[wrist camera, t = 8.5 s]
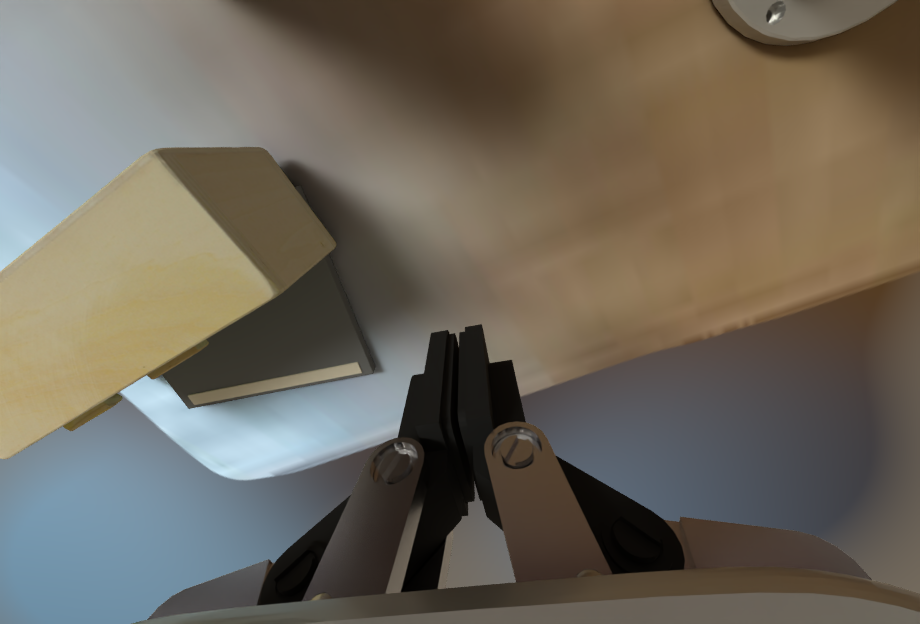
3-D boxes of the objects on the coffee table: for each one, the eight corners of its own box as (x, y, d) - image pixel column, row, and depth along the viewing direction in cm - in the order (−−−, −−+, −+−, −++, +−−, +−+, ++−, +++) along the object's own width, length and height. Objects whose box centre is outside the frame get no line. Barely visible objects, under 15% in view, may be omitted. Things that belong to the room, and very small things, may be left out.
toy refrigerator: (348, 255, 21) (133, 382, 26) (267, 145, 18) (39, 309, 23) (296, 309, 14) (11, 472, 18) (151, 144, 11) (-151, 383, 15)
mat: (300, 185, 20) (294, 187, 19) (375, 367, 26) (372, 374, 25) (75, 242, 21) (60, 245, 21) (195, 401, 27) (187, 409, 27)
